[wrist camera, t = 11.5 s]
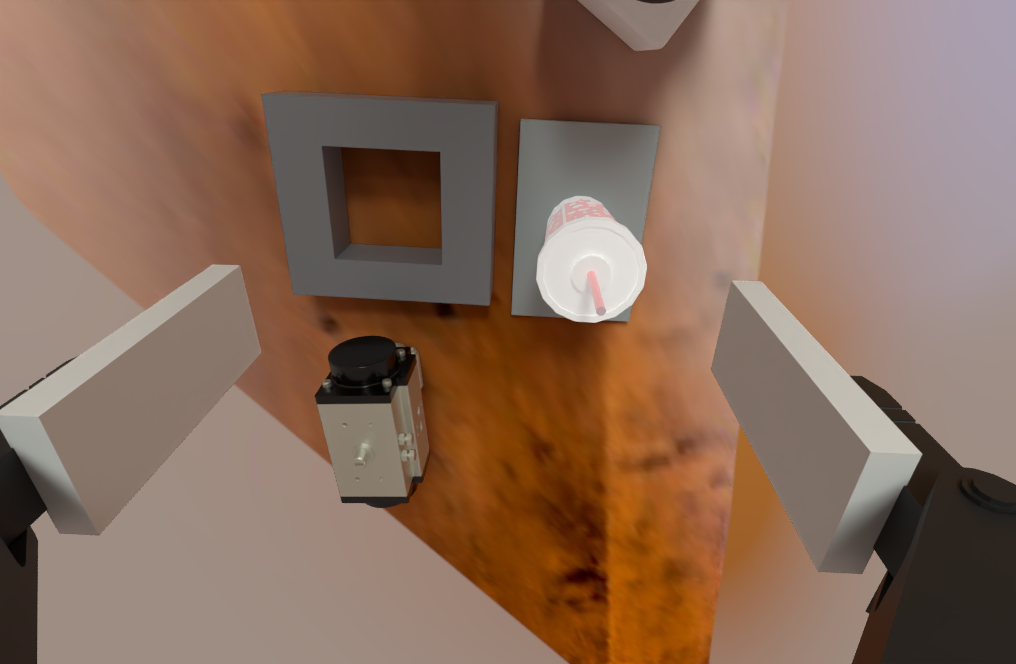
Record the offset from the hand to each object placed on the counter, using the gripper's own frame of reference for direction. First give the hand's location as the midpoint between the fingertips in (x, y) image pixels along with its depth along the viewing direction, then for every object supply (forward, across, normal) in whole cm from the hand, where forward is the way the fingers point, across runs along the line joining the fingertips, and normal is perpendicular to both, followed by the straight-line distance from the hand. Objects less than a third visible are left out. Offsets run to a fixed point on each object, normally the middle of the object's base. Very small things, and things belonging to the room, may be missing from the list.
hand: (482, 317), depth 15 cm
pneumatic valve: (+24, -9, -17) cm, 31 cm away
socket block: (+24, -8, -3) cm, 26 cm away
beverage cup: (+24, +5, -5) cm, 25 cm away
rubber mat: (+24, +5, -5) cm, 25 cm away
